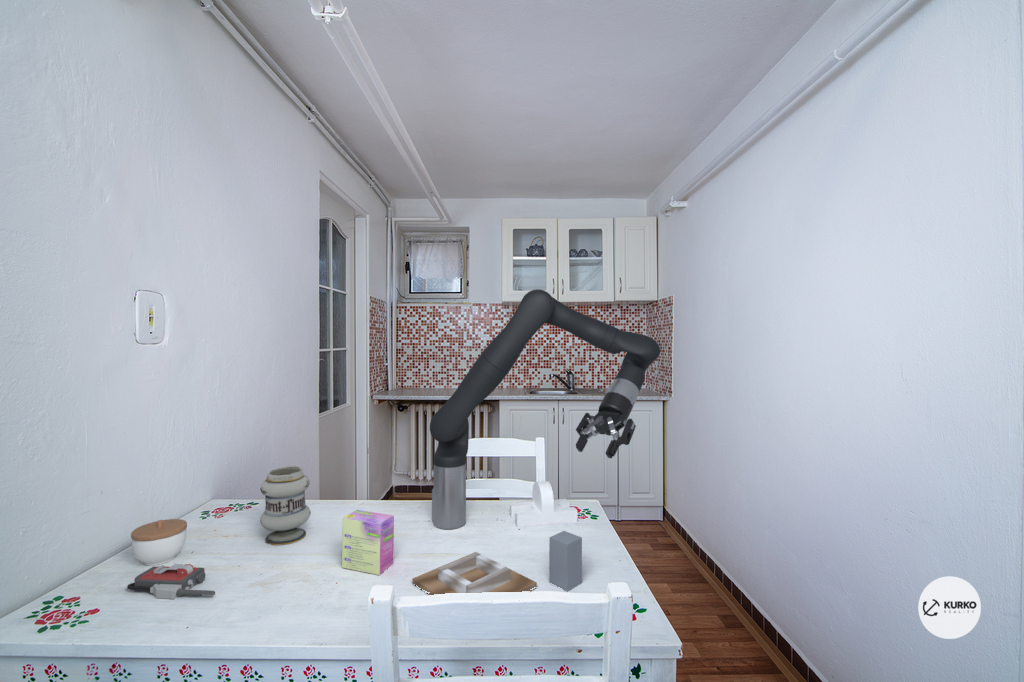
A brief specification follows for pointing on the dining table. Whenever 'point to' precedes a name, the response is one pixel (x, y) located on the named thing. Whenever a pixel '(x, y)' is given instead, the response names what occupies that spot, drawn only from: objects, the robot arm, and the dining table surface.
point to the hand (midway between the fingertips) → (593, 453)
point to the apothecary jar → (285, 505)
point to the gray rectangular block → (565, 560)
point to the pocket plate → (473, 577)
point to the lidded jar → (159, 541)
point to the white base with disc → (542, 508)
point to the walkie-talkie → (170, 581)
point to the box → (367, 541)
